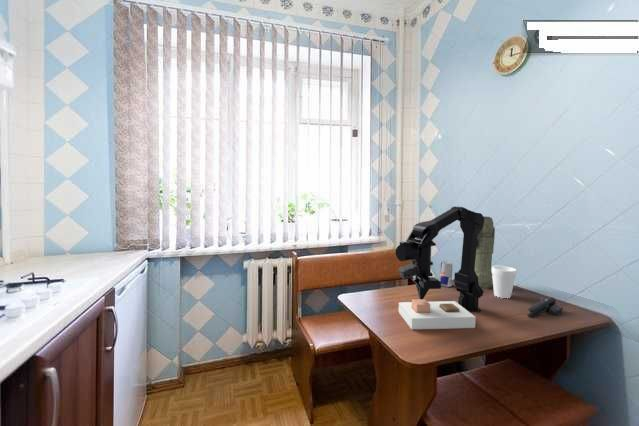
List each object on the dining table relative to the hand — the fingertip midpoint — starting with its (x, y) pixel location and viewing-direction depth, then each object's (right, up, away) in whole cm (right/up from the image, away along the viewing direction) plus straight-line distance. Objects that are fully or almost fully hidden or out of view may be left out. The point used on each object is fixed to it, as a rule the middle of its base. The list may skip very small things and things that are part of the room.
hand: (421, 299), depth 107 cm
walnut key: (+11, -7, +1) cm, 13 cm away
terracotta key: (0, -5, 0) cm, 5 cm away
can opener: (+50, -8, +6) cm, 51 cm away
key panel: (+5, -8, +1) cm, 10 cm away
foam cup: (+46, -6, +24) cm, 52 cm away
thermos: (+44, -5, +38) cm, 58 cm away
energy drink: (+26, -5, +38) cm, 46 cm away
